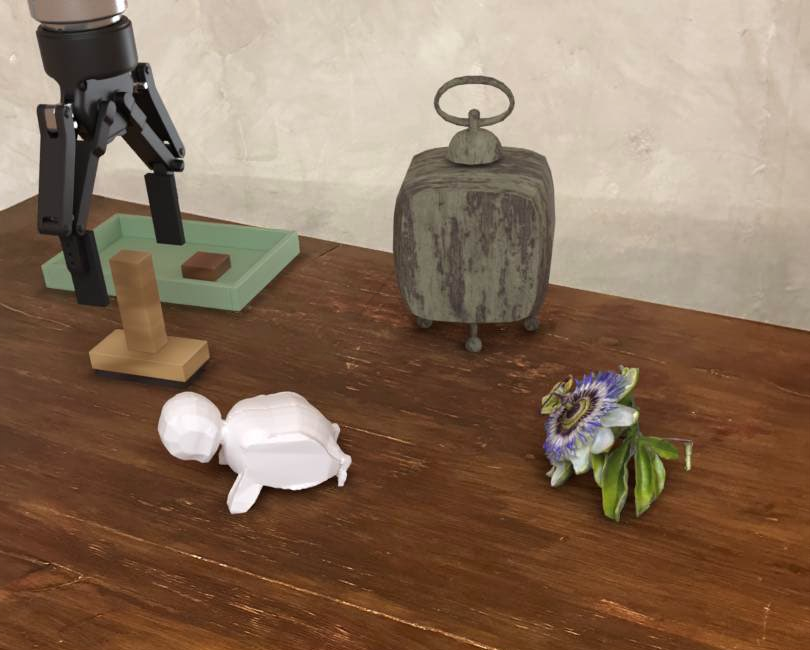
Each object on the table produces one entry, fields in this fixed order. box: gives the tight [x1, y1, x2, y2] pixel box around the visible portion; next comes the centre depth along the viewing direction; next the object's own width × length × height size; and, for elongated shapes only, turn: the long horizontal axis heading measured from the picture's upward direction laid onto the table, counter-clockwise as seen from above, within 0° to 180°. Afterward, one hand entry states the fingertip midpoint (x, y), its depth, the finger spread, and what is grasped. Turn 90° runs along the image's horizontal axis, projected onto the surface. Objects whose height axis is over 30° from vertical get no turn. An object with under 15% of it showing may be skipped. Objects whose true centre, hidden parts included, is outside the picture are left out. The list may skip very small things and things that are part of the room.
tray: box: [40, 212, 301, 312], centre depth 125 cm, size 24×16×3 cm, turn 71°
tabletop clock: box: [392, 75, 556, 354], centre depth 103 cm, size 14×9×25 cm, turn 82°
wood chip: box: [181, 251, 231, 282], centre depth 124 cm, size 4×4×2 cm
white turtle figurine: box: [157, 391, 352, 515], centre depth 90 cm, size 9×8×15 cm
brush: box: [88, 250, 211, 390], centre depth 104 cm, size 10×5×12 cm, turn 71°
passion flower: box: [536, 364, 695, 523], centre depth 88 cm, size 11×11×12 cm
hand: (134, 272), depth 102 cm, fingers open, 13 cm apart
